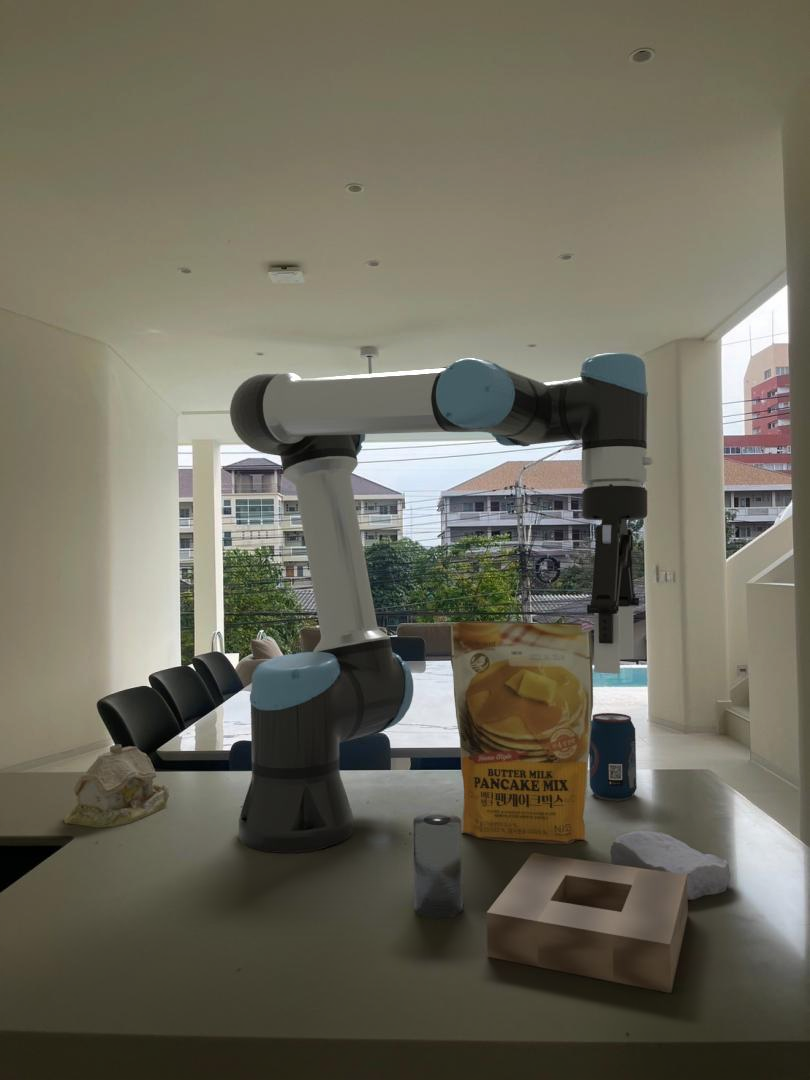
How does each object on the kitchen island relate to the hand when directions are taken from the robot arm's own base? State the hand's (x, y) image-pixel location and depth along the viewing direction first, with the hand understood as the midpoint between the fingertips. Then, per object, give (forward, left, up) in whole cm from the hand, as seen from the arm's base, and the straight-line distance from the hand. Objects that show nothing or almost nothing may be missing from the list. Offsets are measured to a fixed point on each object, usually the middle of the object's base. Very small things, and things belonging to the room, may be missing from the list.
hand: (615, 665), depth 95 cm
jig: (+1, -19, -24) cm, 30 cm away
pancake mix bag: (-13, +6, -24) cm, 28 cm away
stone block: (+6, -1, -24) cm, 25 cm away
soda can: (-5, +28, -24) cm, 37 cm away
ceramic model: (-71, -7, -24) cm, 75 cm away
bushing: (-15, -19, -24) cm, 34 cm away
